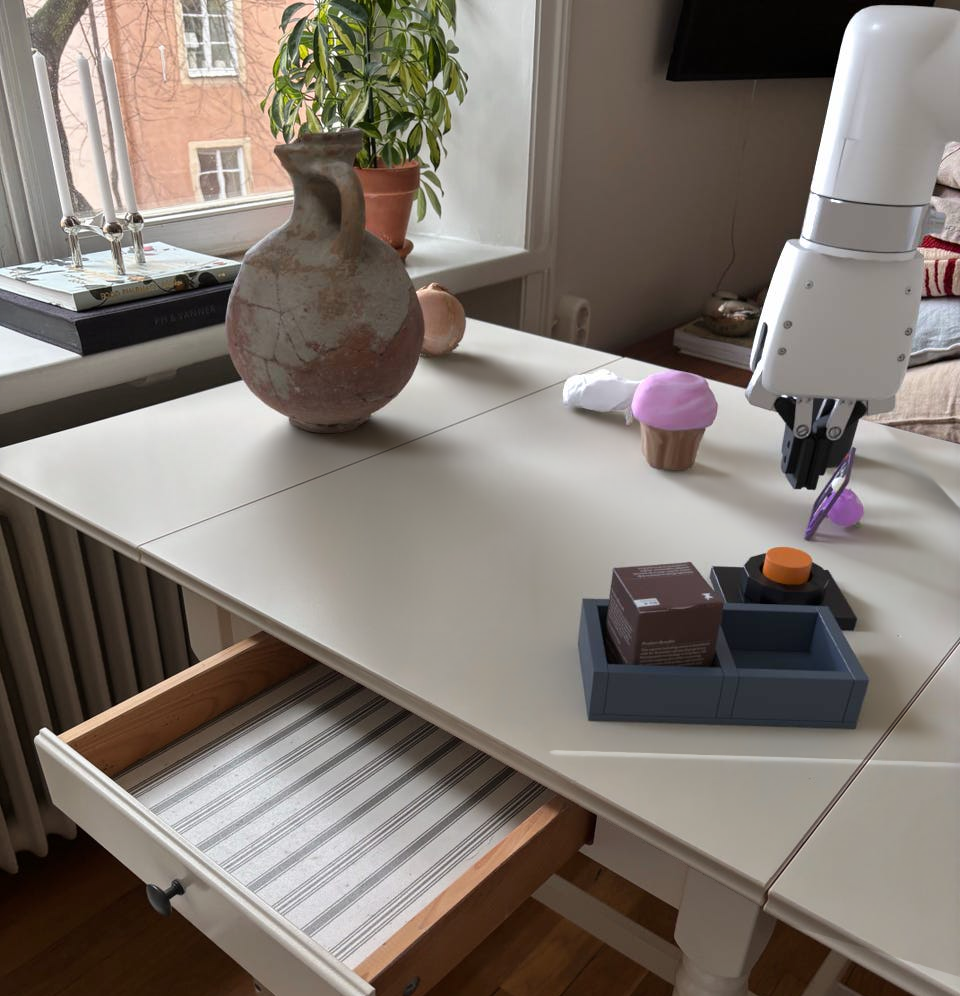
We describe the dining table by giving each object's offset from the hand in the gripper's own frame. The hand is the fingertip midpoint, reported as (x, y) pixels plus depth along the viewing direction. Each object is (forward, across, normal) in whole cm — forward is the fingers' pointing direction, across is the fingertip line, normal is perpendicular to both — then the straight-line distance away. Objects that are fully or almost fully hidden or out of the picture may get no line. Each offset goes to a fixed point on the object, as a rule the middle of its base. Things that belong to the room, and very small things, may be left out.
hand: (799, 482), depth 76 cm
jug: (+12, +41, -39) cm, 58 cm away
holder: (+11, +7, +12) cm, 18 cm away
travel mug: (+11, -13, -33) cm, 37 cm away
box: (+10, +11, +12) cm, 19 cm away
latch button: (+8, -1, 0) cm, 8 cm away
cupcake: (+11, +4, -29) cm, 31 cm away
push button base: (+11, -1, 0) cm, 11 cm away
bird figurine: (+11, +10, -44) cm, 47 cm away
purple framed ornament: (+11, -10, -15) cm, 21 cm away
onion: (+12, +31, -66) cm, 74 cm away
